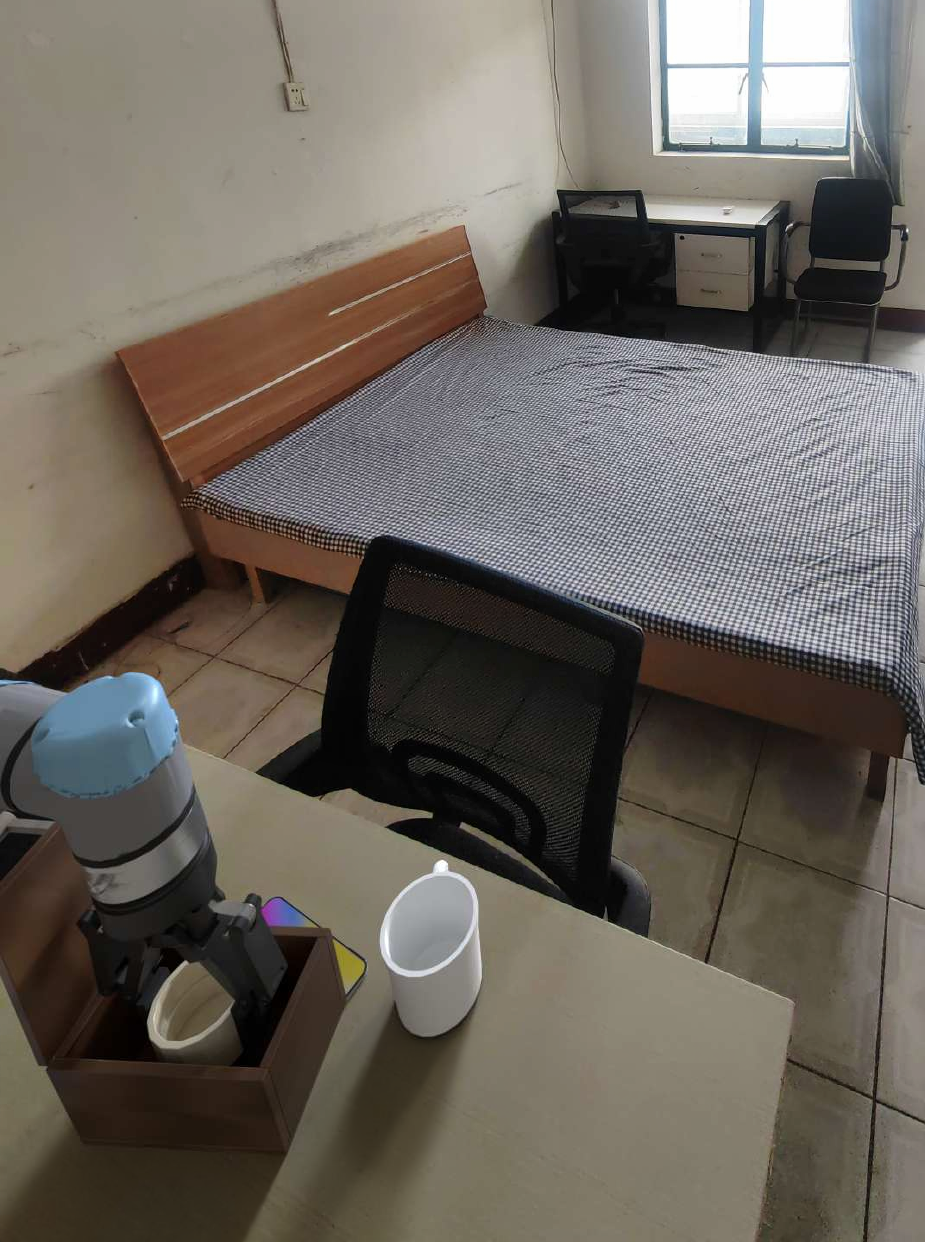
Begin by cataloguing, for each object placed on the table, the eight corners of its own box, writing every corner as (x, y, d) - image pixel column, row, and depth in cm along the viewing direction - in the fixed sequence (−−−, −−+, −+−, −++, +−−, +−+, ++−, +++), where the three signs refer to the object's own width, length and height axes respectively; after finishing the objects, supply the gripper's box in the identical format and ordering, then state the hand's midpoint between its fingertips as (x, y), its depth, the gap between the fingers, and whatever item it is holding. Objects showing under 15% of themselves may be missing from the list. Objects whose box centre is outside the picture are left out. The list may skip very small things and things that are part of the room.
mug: (482, 1035, 64) (473, 967, 61) (383, 1055, 63) (368, 985, 60) (491, 909, 75) (484, 843, 71) (407, 923, 73) (395, 857, 70)
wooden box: (347, 998, 67) (330, 927, 63) (286, 1155, 57) (262, 1081, 53) (173, 990, 67) (146, 919, 64) (82, 1144, 57) (44, 1070, 54)
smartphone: (307, 1048, 63) (208, 961, 69) (309, 1052, 63) (210, 965, 69) (372, 963, 69) (276, 891, 75) (373, 968, 70) (277, 895, 76)
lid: (107, 772, 57) (13, 765, 57) (-17, 913, 47) (-131, 904, 48) (149, 916, 64) (64, 909, 64) (47, 1067, 54) (-54, 1058, 54)
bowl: (143, 1088, 57) (124, 1046, 55) (203, 981, 64) (188, 941, 62) (229, 1092, 57) (213, 1050, 55) (280, 985, 64) (267, 944, 62)
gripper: (-24, 904, 50) (66, 1085, 57) (249, 916, 49) (303, 1096, 57) (66, 805, 57) (135, 977, 64) (305, 814, 56) (346, 986, 64)
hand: (214, 1033), depth 60 cm, fingers closed on bowl, 7 cm apart
